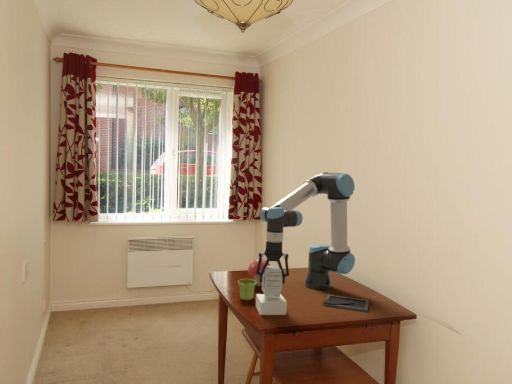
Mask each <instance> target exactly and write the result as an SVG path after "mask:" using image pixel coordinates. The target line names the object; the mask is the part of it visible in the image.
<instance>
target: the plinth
mask: <svg viewBox="0 0 512 384" xmlns="http://www.w3.org/2000/svg"><path fill="white" fill-rule="evenodd" d="M287 307H288V302H287V300H286V299H285V297H284V296H283V295H282V293H280V297H265V295H264V293H256V294H255V308H256V309H257V311H258V314H259V315H260V316H281V315H282V316H286V315H287V310H288V309H287Z"/></svg>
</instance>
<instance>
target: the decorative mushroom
mask: <svg viewBox="0 0 512 384" xmlns="http://www.w3.org/2000/svg"><path fill="white" fill-rule="evenodd" d="M258 261H259V258H258V259H255V260H253V261H251V263H249V265H248V268H247V273H248V274H249V275H251V276H253V280H255V281H256V282H257V283H256V284H255V287H262V283H261V282H260V275H258V274H256V271H257V266H258ZM265 262H266V259H262V261H261V265H260V270H259V271H260V272H261V270H262V268H263V266H264V264H265ZM267 266H271V264H270V262H269V263H268V265H267ZM263 275H264V273H263Z"/></svg>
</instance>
